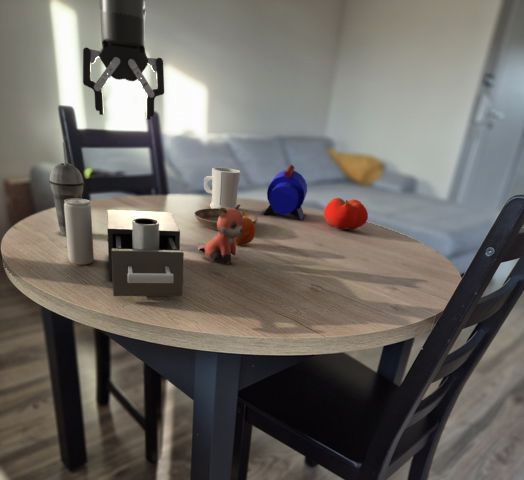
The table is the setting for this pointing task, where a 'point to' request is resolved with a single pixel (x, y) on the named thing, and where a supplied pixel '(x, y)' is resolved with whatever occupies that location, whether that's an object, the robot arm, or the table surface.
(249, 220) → the fruit
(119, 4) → the robot arm
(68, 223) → the beverage can
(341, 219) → the tomato
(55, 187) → the beverage cup
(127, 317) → the table surface
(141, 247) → the grey hollow cylinder
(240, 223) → the stuffed fox
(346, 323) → the table surface
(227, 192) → the cup
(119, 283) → the drawer
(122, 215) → the cabinet
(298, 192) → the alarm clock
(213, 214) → the plant saucer
